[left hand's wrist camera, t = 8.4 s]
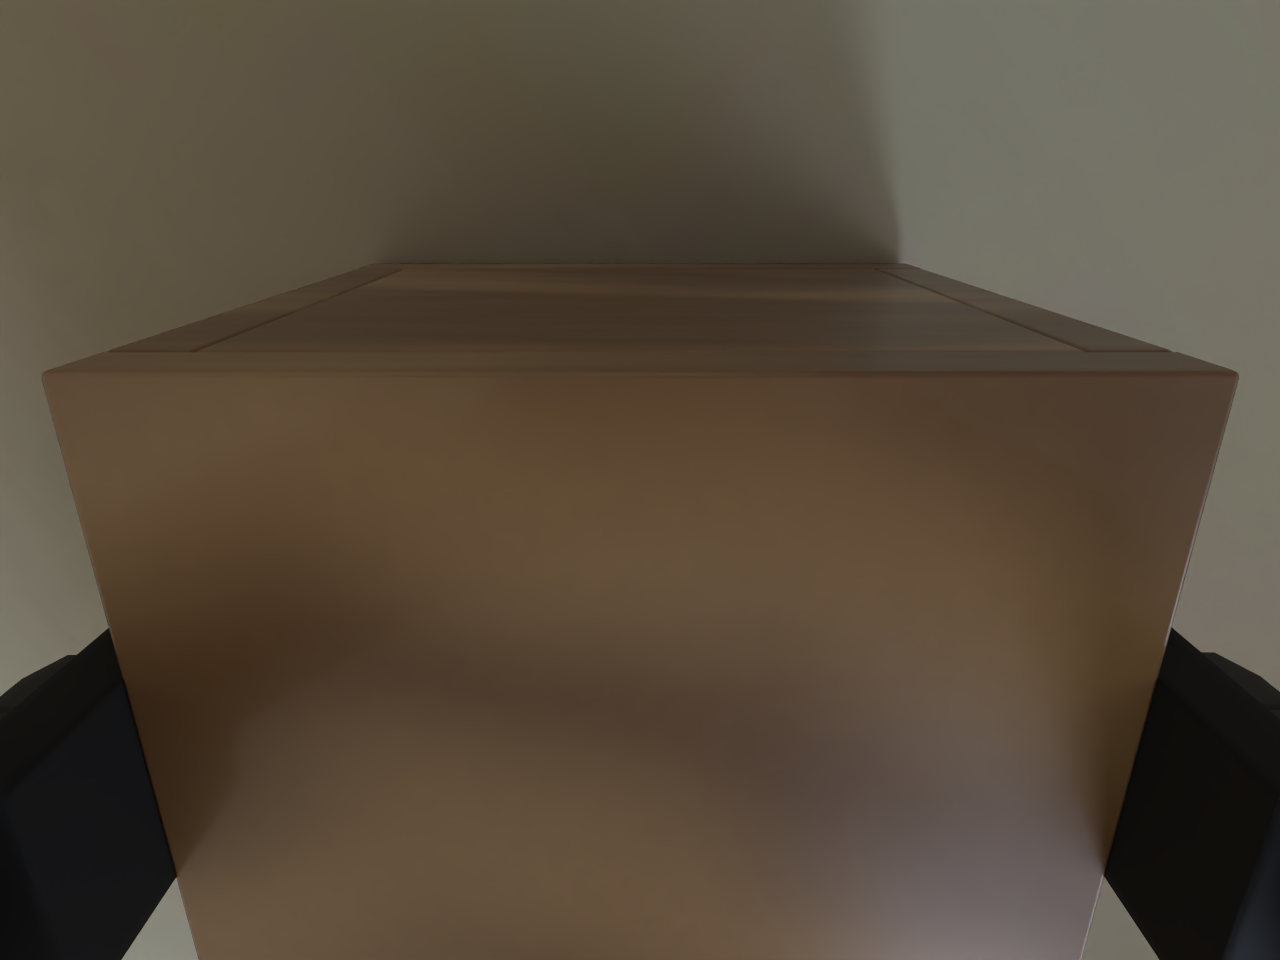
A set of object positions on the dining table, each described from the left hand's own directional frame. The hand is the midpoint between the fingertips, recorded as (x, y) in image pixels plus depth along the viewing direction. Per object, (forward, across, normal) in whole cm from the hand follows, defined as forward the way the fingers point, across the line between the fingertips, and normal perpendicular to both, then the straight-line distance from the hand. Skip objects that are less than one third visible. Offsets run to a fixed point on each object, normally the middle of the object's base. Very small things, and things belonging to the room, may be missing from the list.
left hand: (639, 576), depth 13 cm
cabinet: (+5, 0, -5) cm, 7 cm away
